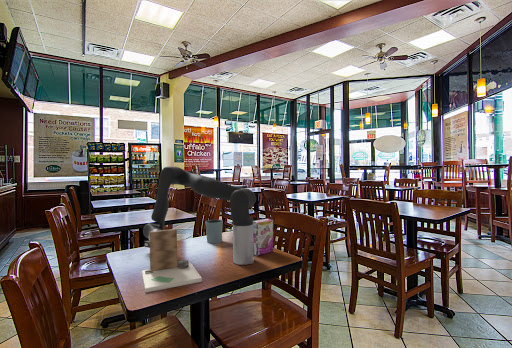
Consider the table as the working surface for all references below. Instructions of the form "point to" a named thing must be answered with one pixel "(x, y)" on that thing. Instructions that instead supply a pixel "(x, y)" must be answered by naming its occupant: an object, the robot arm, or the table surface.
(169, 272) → the plate
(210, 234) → the grey-blue bumpy cylinder
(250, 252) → the robot arm
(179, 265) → the brown flat streaked slab
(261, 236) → the candy bar box
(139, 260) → the table surface
